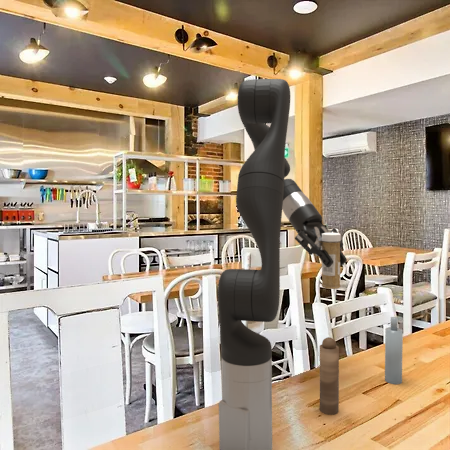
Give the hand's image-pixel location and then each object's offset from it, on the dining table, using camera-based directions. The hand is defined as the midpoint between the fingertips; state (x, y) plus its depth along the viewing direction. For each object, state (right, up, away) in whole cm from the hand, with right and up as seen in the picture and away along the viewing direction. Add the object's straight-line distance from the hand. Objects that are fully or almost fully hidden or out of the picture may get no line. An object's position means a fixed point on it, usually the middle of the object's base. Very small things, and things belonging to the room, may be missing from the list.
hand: (337, 263), depth 103 cm
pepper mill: (-5, -31, -11) cm, 33 cm away
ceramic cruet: (+15, -29, +3) cm, 33 cm away
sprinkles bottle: (-1, -6, +2) cm, 7 cm away
